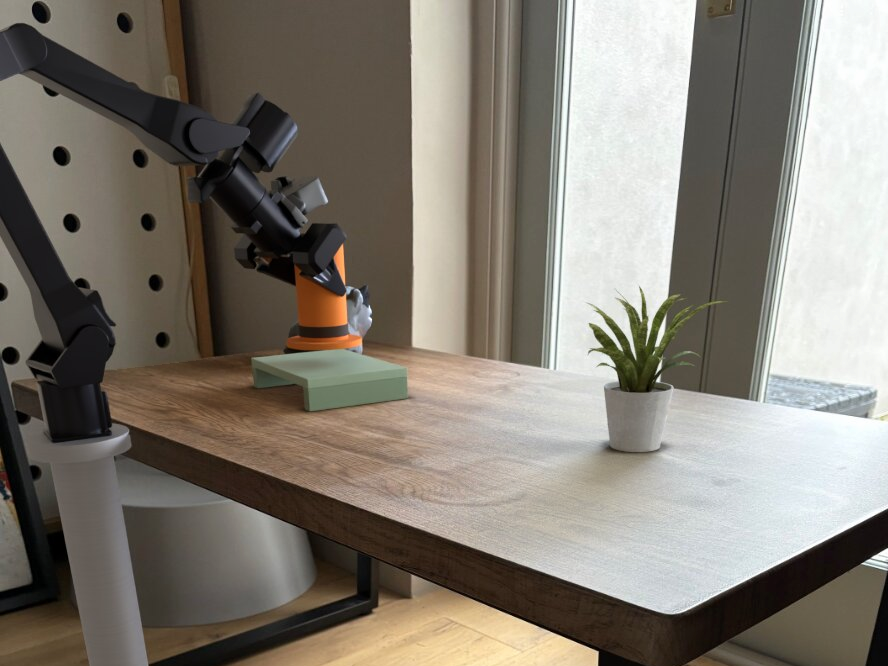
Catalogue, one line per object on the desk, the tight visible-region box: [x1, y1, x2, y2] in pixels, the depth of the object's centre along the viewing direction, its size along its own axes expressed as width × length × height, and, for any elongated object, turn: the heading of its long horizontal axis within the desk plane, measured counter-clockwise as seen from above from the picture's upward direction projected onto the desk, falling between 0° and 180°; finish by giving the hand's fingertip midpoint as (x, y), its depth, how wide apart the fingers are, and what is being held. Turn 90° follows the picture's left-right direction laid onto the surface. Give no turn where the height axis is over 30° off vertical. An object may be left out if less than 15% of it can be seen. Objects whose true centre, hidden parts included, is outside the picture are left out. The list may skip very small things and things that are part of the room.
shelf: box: [250, 349, 409, 412], centre depth 126 cm, size 14×20×4 cm
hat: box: [286, 243, 363, 350], centre depth 122 cm, size 10×10×13 cm
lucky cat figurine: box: [282, 284, 373, 355], centre depth 149 cm, size 15×12×14 cm
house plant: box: [583, 285, 729, 453], centre depth 95 cm, size 14×14×16 cm
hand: (329, 292), depth 122 cm, fingers closed on hat, 6 cm apart
